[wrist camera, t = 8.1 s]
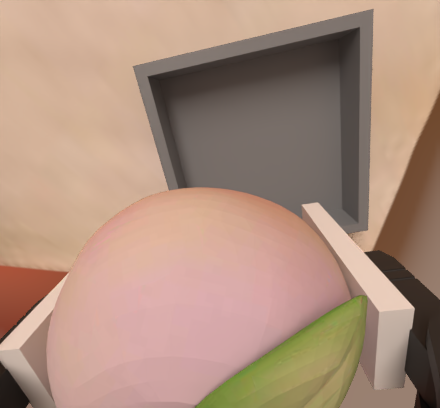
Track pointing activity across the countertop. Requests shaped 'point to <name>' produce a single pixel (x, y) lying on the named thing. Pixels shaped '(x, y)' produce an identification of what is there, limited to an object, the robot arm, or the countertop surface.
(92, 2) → the countertop surface
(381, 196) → the countertop surface
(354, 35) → the bin
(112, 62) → the countertop surface
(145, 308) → the decorative fruit
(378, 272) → the robot arm
